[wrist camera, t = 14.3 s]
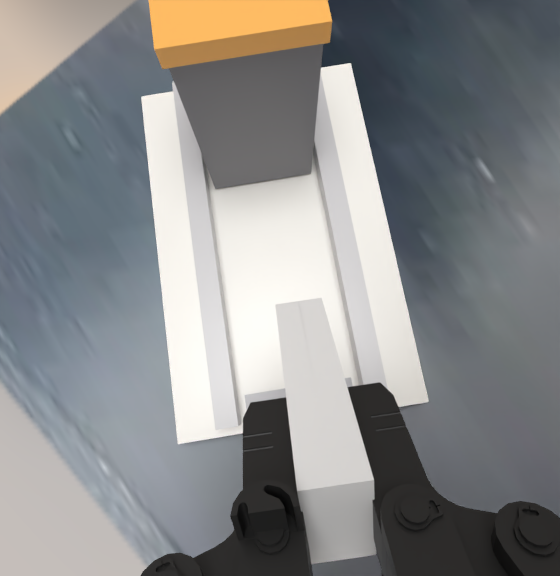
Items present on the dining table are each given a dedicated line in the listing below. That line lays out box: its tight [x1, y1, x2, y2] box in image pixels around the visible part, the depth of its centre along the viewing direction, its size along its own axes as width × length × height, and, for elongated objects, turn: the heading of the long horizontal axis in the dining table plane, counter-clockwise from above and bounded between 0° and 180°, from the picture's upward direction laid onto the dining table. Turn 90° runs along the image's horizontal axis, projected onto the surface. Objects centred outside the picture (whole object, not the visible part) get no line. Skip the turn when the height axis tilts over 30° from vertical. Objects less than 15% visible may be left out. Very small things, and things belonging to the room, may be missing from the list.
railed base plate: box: [141, 63, 429, 444], centre depth 27 cm, size 22×14×3 cm, turn 9°
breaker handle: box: [149, 0, 332, 189], centre depth 22 cm, size 5×6×12 cm
